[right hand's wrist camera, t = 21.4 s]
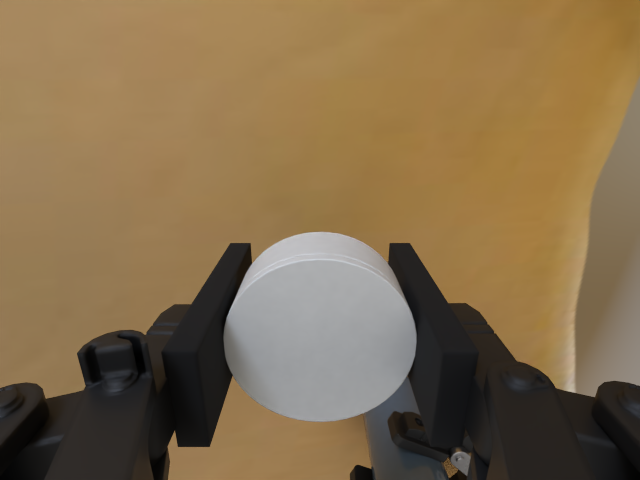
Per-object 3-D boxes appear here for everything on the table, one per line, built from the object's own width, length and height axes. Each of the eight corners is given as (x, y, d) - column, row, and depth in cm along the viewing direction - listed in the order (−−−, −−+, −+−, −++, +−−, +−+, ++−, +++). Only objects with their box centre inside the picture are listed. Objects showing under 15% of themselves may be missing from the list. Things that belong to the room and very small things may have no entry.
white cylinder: (393, 218, 11) (409, 244, 9) (407, 362, 13) (423, 410, 11) (221, 244, 11) (200, 275, 9) (258, 381, 13) (247, 432, 11)
